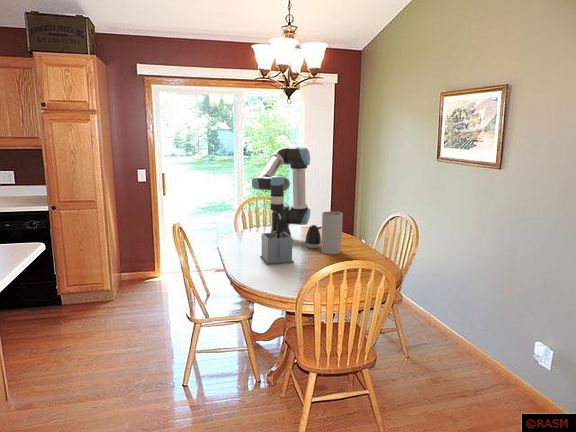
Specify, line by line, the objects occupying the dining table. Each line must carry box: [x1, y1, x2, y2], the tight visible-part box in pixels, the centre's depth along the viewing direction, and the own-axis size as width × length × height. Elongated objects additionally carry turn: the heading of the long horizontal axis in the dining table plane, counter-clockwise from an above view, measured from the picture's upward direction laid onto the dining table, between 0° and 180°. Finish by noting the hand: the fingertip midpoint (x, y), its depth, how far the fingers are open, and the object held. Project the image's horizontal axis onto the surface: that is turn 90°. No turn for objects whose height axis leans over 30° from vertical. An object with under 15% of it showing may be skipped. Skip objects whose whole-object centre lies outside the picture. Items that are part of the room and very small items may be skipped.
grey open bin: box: [259, 232, 294, 266], centre depth 240 cm, size 18×16×15 cm
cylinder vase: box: [320, 210, 343, 256], centre depth 257 cm, size 12×12×25 cm
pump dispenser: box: [305, 224, 322, 249], centre depth 268 cm, size 10×10×15 cm
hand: (276, 242), depth 240 cm, fingers closed on plunger, 4 cm apart
